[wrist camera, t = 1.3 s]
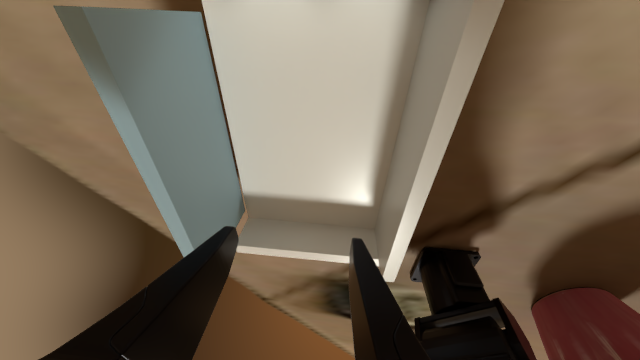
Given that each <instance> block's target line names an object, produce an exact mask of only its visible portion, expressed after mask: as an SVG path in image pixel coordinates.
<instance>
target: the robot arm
mask: <svg viewBox="0 0 640 360" xmlns="http://www.w3.org/2000/svg"><path fill="white" fill-rule="evenodd" d="M238 242H239V239H238V235H237V231H236V228H235V227H234V226H225V227H223V228H222V229H220V230H219V231H218V232H217V233H215V234H214V235H213V236H211V237H210V238H209V239H207V240H206V241H205V242H204V243H202V244H201V245H200V246H198V247H197V248H196V249H194V250H193V251H192V252H191V253H189V254H188V255H187V256H185V257H184V258H183V259H181V260H180V261H179V262H178V263H176V264H175V265H174V266H172V267H171V268H170V269H168V270H167V271H166V272H165V273H163V274H162V275H161V276H160V277H158V278H157V279H155V280H154V281H153V282H152V283H150V284H149V285H148V287H145V288H144V289H142V290H141V291H140V292H139V293H137V294H136V295H134V296H133V297H132V298H130V299H129V300H128V301H126V302H125V303H124V304H122V305H121V306H120V307H118V308H117V309H115V310H114V311H112V312H111V313H110V314H108V315H107V316H105V317H104V318H102V319H101V320H100V321H98V322H96V323H95V324H93V325H92V326H91V327H89V328H87V329H86V330H85V331H83V332H82V333H80V334H79V335H77V336H76V337H74V338H73V339H71V340H70V341H68V342H67V343H65V344H64V345H62V346H61V347H59V348H58V349H56V350H55V351H53V352H52V353H50V354H48V355H46V356H44V357H43V358H41V359H39V360H192V359H193V356H194V354H195V352H196V349H197V347H198V345H199V342H200V340H201V338H202V336H203V333H204V331H205V329H206V326H207V324H208V322H209V319H210V317H211V315H212V312H213V310H214V308H215V305H216V303H217V301H218V298H219V296H220V294H221V291H222V289H223V287H224V284H225V282H226V279H227V277H228V275H229V272H230V268H231V265H232V262H233V259H234V256H235V252H236V249H237V246H238ZM480 258H481V256H480V254H479V253H478V252H470V251H459V250H448V249H438V248H424V249H423V250H422V252H421V254H420V256H419V258H418V260H417V263H416V265H415V267H414V269H413V271H412V274H411V276H410V278H411V281H415V282H422V283H423V286H424V290H425V293H426V297H427V300H428V304H429V307H430V311H431V314H432V315H430V316H426V317H422V318H420V317H418V318H415V334H414V332H413V331H412V329H411V327H410V325H409V324H408V322H407V320H406V318H405V316H404V315H403V313H402V311H401V309H400V307H399V305H398V304H397V302H396V300H395V298H394V296H393V295H392V293H391V291H390V289H389V287H388V285H387V284H386V282H385V280H384V278H383V276H382V274H381V273H380V271H379V269H378V267H377V265H376V264H375V262H374V260H373V258H372V256H371V254H370V253H369V251H368V249H367V247H366V245H365V243H364V242H363V240H362V239H361V238H352V240H351V246H350V256H349V298H350V308H351V319H352V330H353V341H354V352H355V360H537V359H536V357H535V355H534V353H533V350H532V348H531V346H530V343H529V341H528V340H527V338H526V336H525V335H524V333H523V331H522V330H521V328H520V326H519V324H518V323H517V321H516V319H515V318H514V316H513V315H512V314H511V313H510V311H509V310H508V309H507V308H506V306H505V305H504V304H503V303H502V301H501V300H500V299H499V298H495V299H493V300H491V301H490V300H489V298H488V296H487V294H486V292H485V290H484V288H483V287H484V285H483V283H482V281H481V279H480V277H479V275H478V273H477V271H476V270H475V268H474V266H475V265H476V264H477V262H478V261H479V259H480ZM503 327H505V328H506V329H504V330H502V329H501V328H503Z"/></svg>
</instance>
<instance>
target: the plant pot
mask: <svg viewBox="0 0 640 360" xmlns="http://www.w3.org/2000/svg"><path fill="white" fill-rule="evenodd" d="M532 315H533V317H534V320H535V323H536V326H537V328H538V331H539V334H540V337H541V340H542V342H543V345H544V348H545V350H546V353H547V356H548V358H549V360H640V314H639V313H637V312H636V311H635V310H633V309H632V308H630V307H629V306H628V305H626V304H625V303H624V302H622V301H621V300H620V299H618V298H617V297H616V296H614V295H613V294H611V293H610V292H608V291H605V290H602V289H597V288H574V289H567V290H562V291H559V292H555V293H553V294H550V295H548V296H546V297H544V298H542V299H540V300H539V301H537V302H536V303H535V304H534V306H533V307H532Z"/></svg>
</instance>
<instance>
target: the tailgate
mask: <svg viewBox="0 0 640 360" xmlns="http://www.w3.org/2000/svg"><path fill="white" fill-rule="evenodd" d="M54 8H55V10H56V12H57V14H58V16H59V18H60V20H61V22H62V24H63V26H64V28H65V30H66V31H67V33H68V35H69V37H70V39H71V41H72V43H73V45H74V47H75V49H76V51H77V53H78V55H79V56H80V58H81V60H82V62H83V64H84V66H85V68H86V70H87V72H88V74H89V76H90V78H91V80H92V81H93V83H94V85H95V87H96V89H97V91H98V93H99V95H100V97H101V99H102V101H103V103H104V105H105V107H106V108H107V110H108V112H109V114H110V116H111V118H112V120H113V122H114V124H115V126H116V128H117V130H118V132H119V133H120V135H121V137H122V139H123V141H124V143H125V145H126V147H127V149H128V151H129V153H130V155H131V157H132V158H133V160H134V162H135V164H136V166H137V168H138V170H139V172H140V174H141V176H142V178H143V180H144V182H145V184H146V185H147V187H148V189H149V191H150V193H151V195H152V197H153V199H154V201H155V203H156V205H157V207H158V209H159V210H160V212H161V214H162V216H163V218H164V220H165V222H166V224H167V226H168V228H169V230H170V232H171V234H172V235H173V237H174V239H175V241H176V243H177V245H178V247H179V249H180V251H181V253H182V255H183V256H184V257H185V256H187V255H188V254H189V253H191V252H192V251H193V250H194V249H196V248H197V247H198V246H200V245H201V244H202V243H204V242H205V241H206V240H207V239H209V238H210V237H211V236H213V235H214V234H215V233H217V232H218V231H219V230H220V229H222V228H223V227H225V226H234V227H235V228H236V227H237V225H238V223H239V221H240V219H241V217H242V215H243V213H244V211H245V208H244V203H243V199H242V194H241V190H240V185H239V181H238V176H237V172H236V167H235V163H234V158H233V154H232V149H231V145H230V140H229V136H228V131H227V127H226V122H225V118H224V113H223V109H222V104H221V100H220V95H219V91H218V86H217V82H216V77H215V73H214V68H213V64H212V59H211V55H210V50H209V46H208V41H207V37H206V32H205V28H204V24H203V19H202V15H201V12H190V11H167V10H145V9H123V8H100V7H77V6H54Z"/></svg>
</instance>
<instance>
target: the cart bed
mask: <svg viewBox="0 0 640 360" xmlns="http://www.w3.org/2000/svg"><path fill="white" fill-rule="evenodd" d="M503 3H504V0H202V4H203V9H204V14H205V18H206V23H207V27H208V32H209V37H210V41H211V46H212V51H213V55H214V60H215V65H216V69H217V74H218V78H219V83H220V88H221V92H222V97H223V102H224V106H225V111H226V116H227V120H228V125H229V129H230V134H231V139H232V143H233V148H234V153H235V157H236V162H237V166H238V171H239V176H240V180H241V185H242V190H243V194H244V199H245V204H246V208H247V213H248V217H249V218H248V220H247V222H246V224H245V226H244V228H243V230H242V232H241V234H240V236H239V238H238V239H239V242H238V246H237V249H236V250H237V252H240V253H250V254H260V255H270V256H280V257H290V258H300V259H310V260H320V261H330V262H341V263H349V256H350V246H351V240H352V238H361V239H362V240H363V242H364V243H365V245H366V247H367V249H368V251H369V253H370V254H371V256H372V258H373V260H374V262H375V264H376V265H377V266H379V268H380V273H381V274H382V276H383V278H384V280H385V281H388V282H394V281H395V278H396V276H397V273H398V271H399V268H400V265H401V263H402V260H403V258H404V255H405V253H406V250H407V248H408V245H409V243H410V240H411V237H412V235H413V232H414V230H415V227H416V225H417V222H418V220H419V217H420V214H421V212H422V209H423V207H424V204H425V202H426V199H427V197H428V194H429V192H430V189H431V186H432V184H433V181H434V179H435V176H436V174H437V171H438V169H439V166H440V163H441V161H442V158H443V156H444V153H445V151H446V148H447V146H448V143H449V141H450V138H451V135H452V133H453V130H454V128H455V125H456V123H457V120H458V118H459V115H460V112H461V110H462V107H463V105H464V102H465V100H466V97H467V95H468V92H469V90H470V87H471V84H472V82H473V79H474V77H475V74H476V72H477V69H478V67H479V64H480V62H481V59H482V56H483V54H484V51H485V49H486V46H487V44H488V41H489V39H490V36H491V33H492V31H493V28H494V26H495V23H496V21H497V18H498V16H499V13H500V11H501V8H502V5H503Z"/></svg>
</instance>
